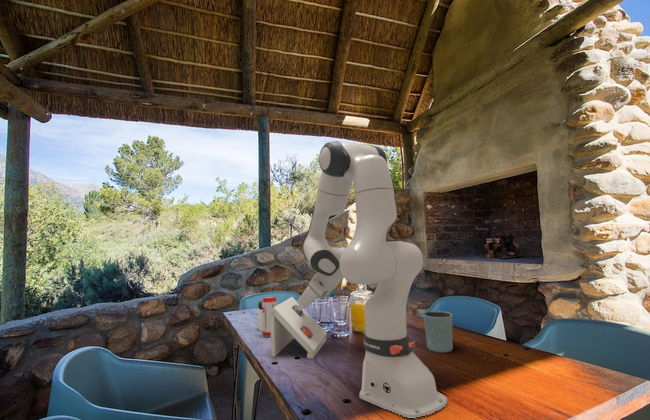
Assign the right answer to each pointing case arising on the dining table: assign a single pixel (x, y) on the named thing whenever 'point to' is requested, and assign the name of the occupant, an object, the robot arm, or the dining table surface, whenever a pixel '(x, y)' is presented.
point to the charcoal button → (298, 311)
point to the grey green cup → (438, 330)
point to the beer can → (267, 313)
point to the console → (294, 329)
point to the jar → (260, 316)
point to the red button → (306, 331)
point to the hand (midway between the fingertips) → (299, 309)
